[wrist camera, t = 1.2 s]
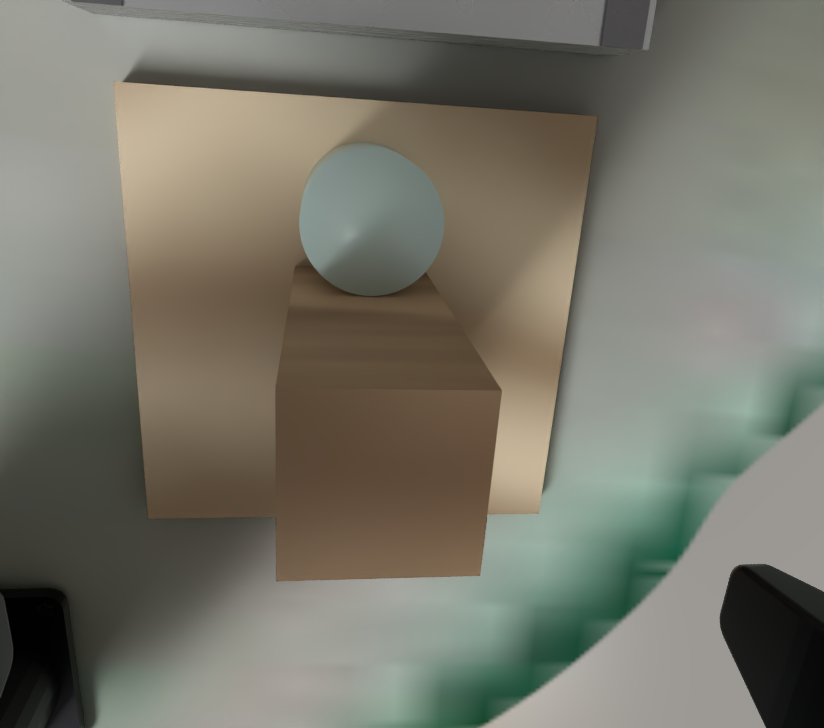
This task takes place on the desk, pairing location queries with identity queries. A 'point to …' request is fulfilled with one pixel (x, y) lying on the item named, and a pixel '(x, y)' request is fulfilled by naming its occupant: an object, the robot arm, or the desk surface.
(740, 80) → the desk surface
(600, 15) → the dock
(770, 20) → the desk surface
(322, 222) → the grey-green round cylinder
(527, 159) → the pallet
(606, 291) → the desk surface
